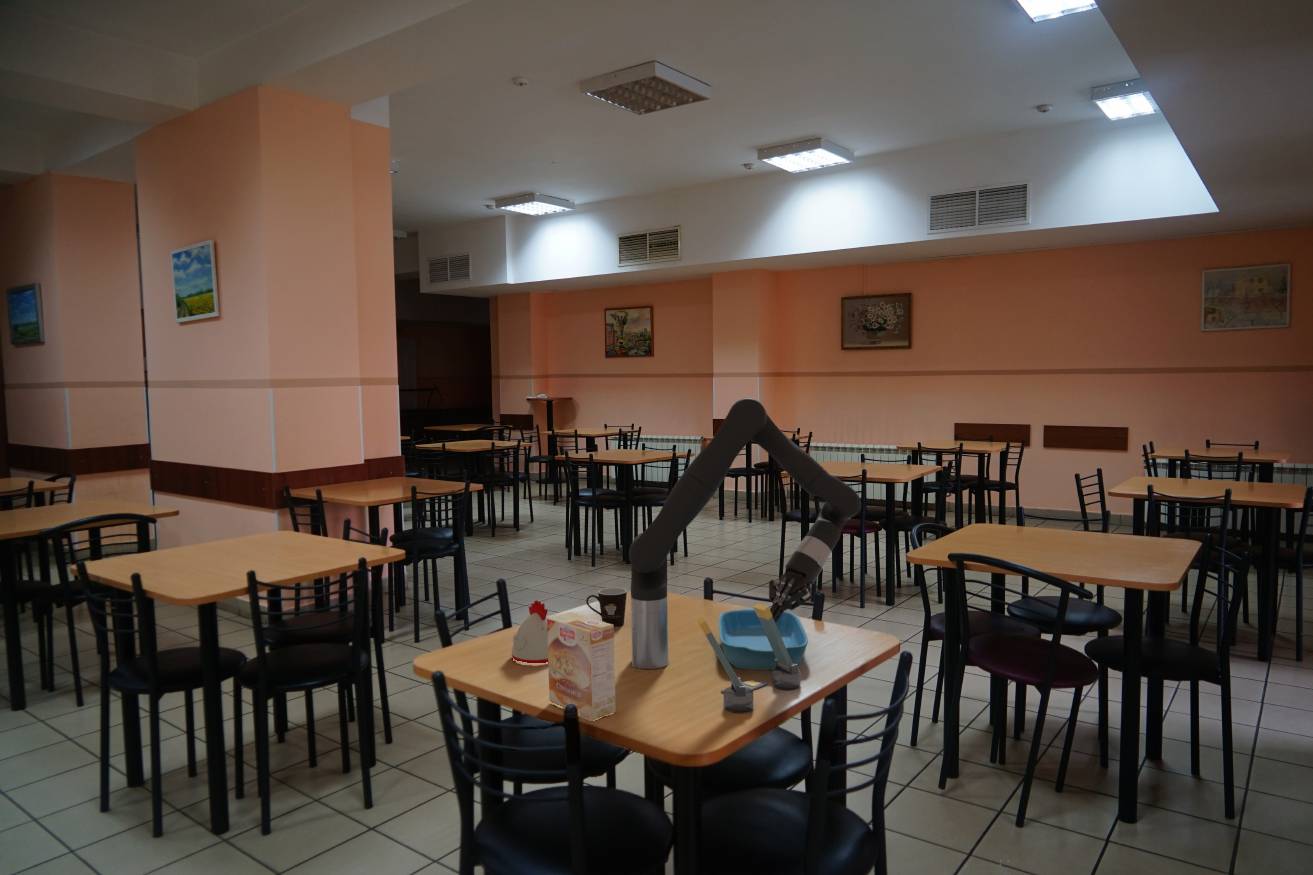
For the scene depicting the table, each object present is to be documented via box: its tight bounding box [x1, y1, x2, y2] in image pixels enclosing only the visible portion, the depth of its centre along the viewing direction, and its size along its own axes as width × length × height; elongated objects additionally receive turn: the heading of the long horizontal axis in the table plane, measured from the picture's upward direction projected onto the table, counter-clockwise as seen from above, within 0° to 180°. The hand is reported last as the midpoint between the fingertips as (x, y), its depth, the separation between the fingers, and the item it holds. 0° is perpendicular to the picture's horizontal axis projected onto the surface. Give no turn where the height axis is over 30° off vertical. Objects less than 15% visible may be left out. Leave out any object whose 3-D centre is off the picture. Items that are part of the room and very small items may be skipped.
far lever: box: [753, 603, 794, 671], centre depth 182 cm, size 2×4×18 cm, turn 33°
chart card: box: [720, 678, 768, 694], centre depth 183 cm, size 11×4×1 cm, turn 131°
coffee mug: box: [585, 587, 628, 628], centre depth 238 cm, size 12×9×10 cm
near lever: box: [696, 616, 744, 690], centre depth 171 cm, size 2×4×18 cm, turn 6°
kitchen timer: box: [511, 599, 550, 663], centre depth 208 cm, size 14×14×15 cm
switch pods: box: [723, 659, 801, 714], centre depth 178 cm, size 24×6×6 cm, turn 135°
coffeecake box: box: [547, 611, 617, 722], centre depth 173 cm, size 15×7×20 cm, turn 45°
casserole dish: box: [718, 607, 809, 670], centre depth 209 cm, size 37×22×7 cm, turn 177°
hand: (770, 620), depth 182 cm, fingers closed
